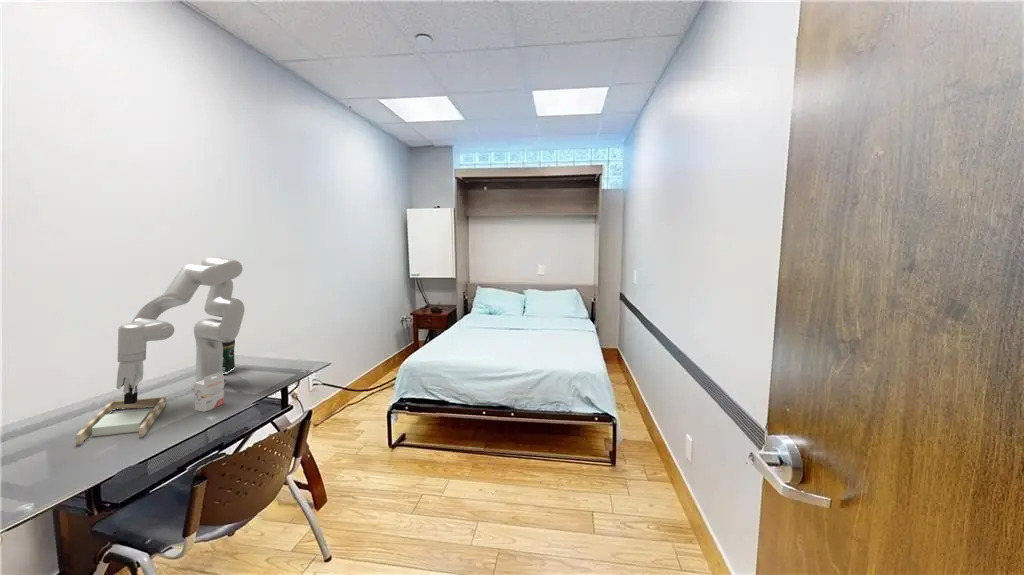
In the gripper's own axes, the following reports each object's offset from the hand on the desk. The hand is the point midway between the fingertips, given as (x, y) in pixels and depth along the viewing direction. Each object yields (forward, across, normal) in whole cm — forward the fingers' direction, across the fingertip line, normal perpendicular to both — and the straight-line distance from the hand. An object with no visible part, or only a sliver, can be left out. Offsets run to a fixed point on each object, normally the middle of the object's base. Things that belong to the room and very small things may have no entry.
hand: (130, 402), depth 141 cm
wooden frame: (+5, +6, +1) cm, 8 cm away
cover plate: (+6, +9, +1) cm, 11 cm away
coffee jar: (+4, -41, +23) cm, 47 cm away
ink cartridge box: (+5, -1, +24) cm, 24 cm away
